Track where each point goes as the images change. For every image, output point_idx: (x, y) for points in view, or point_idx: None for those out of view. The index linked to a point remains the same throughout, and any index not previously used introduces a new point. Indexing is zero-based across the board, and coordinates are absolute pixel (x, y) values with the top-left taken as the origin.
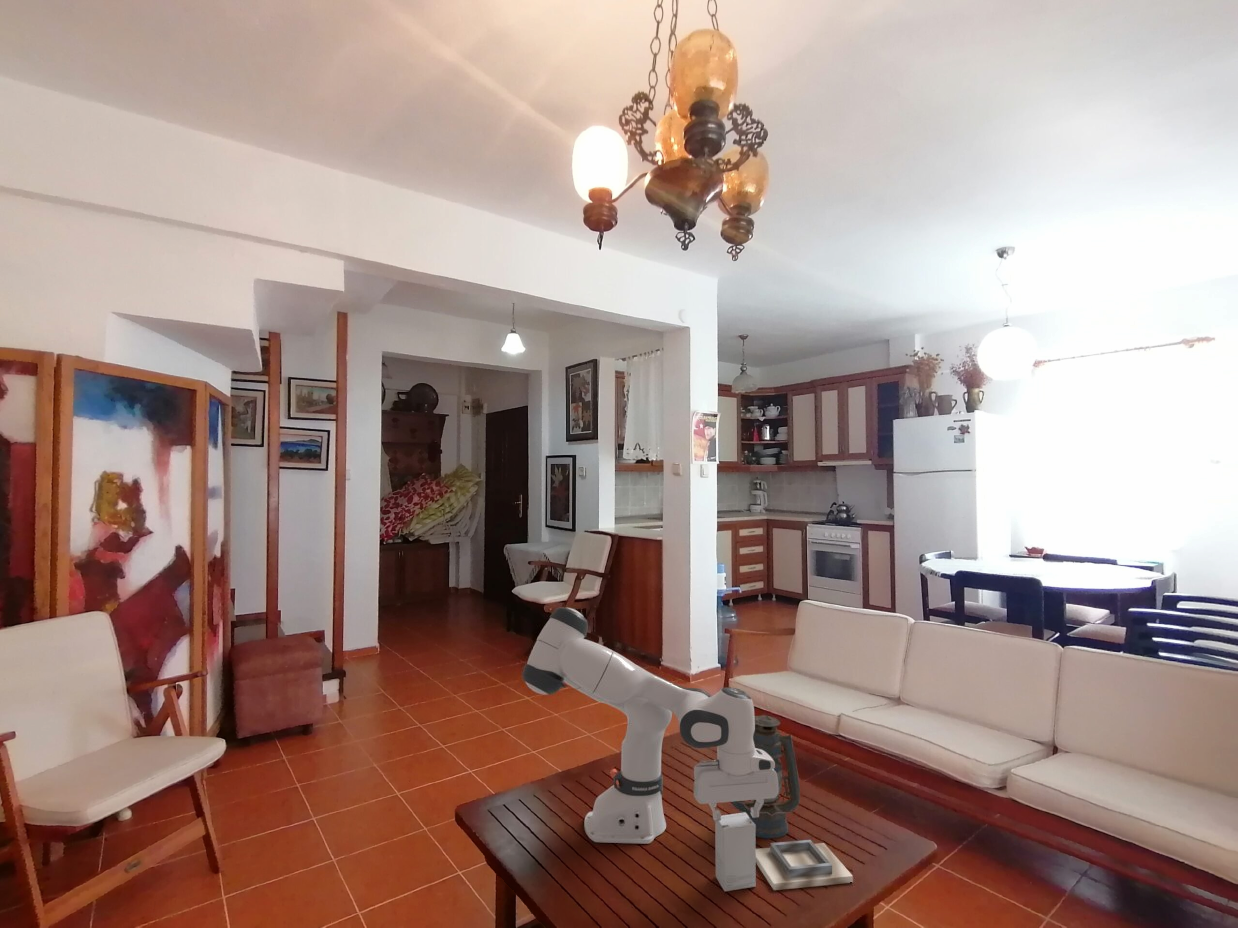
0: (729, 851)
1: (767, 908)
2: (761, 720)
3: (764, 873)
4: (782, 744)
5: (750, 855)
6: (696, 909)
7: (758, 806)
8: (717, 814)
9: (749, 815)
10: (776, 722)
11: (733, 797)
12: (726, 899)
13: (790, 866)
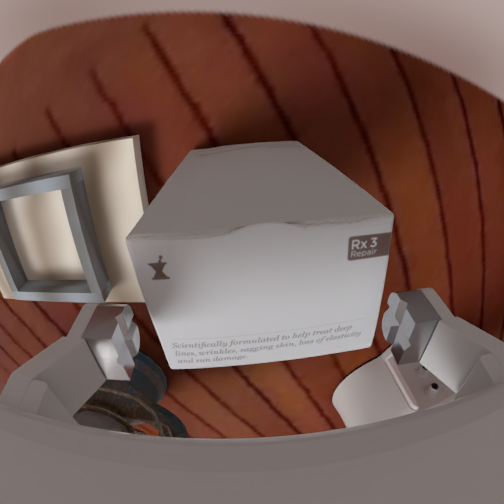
0: (312, 169)
1: (188, 51)
2: None
3: (146, 205)
4: None
5: (196, 172)
6: (403, 85)
7: (60, 360)
8: (437, 314)
9: (146, 394)
10: None
11: (379, 469)
12: (305, 104)
13: (63, 189)
